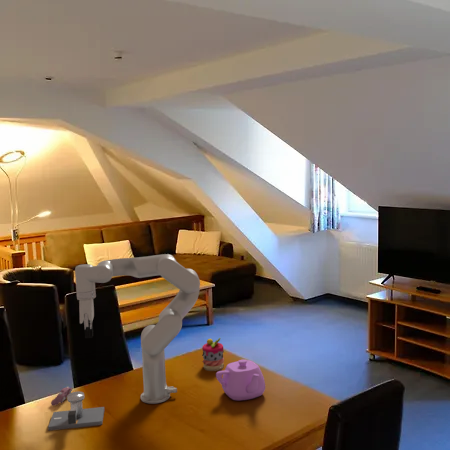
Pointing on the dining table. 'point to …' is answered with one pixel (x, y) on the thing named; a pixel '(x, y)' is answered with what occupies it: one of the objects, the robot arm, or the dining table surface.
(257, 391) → the teapot
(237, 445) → the dining table surface
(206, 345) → the cake
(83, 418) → the base plate
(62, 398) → the video game controller
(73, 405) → the lever
